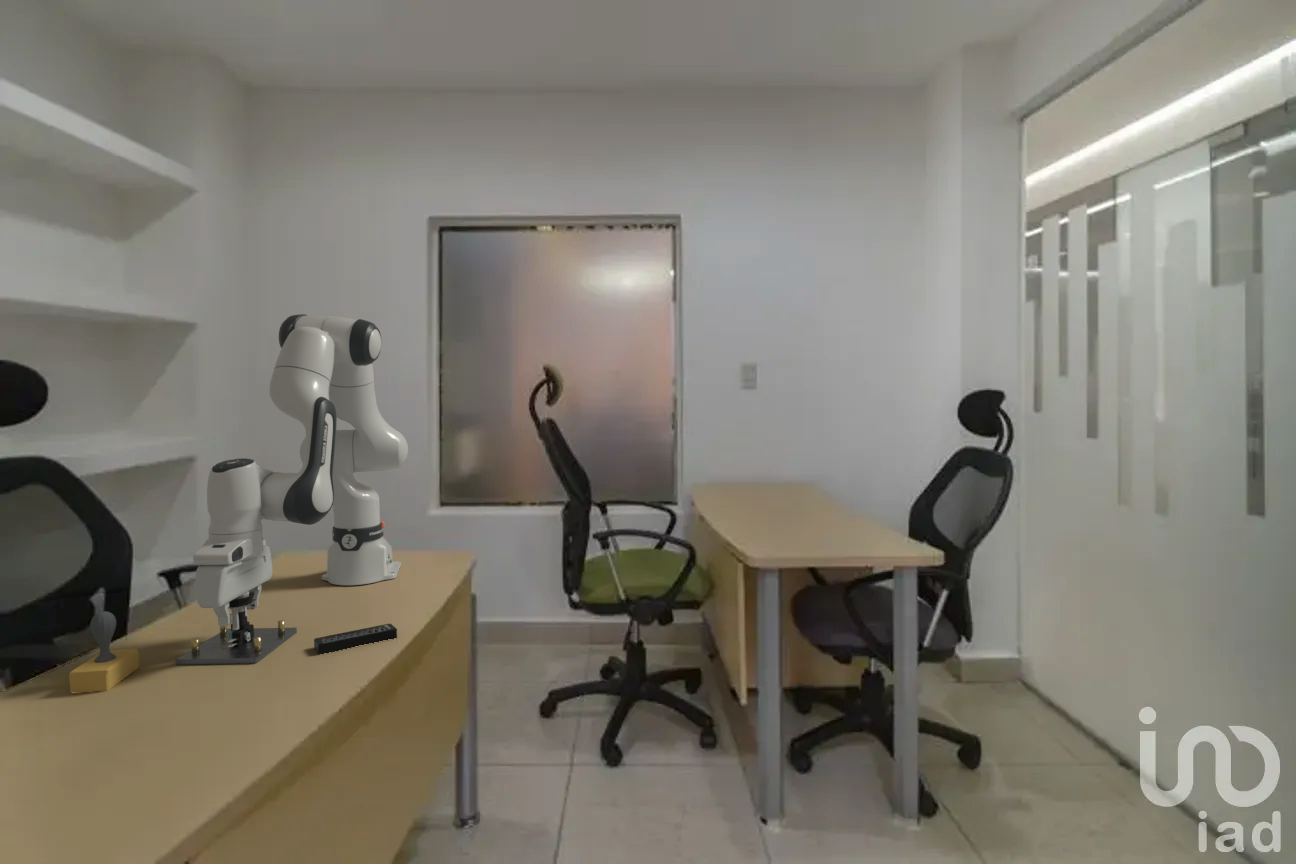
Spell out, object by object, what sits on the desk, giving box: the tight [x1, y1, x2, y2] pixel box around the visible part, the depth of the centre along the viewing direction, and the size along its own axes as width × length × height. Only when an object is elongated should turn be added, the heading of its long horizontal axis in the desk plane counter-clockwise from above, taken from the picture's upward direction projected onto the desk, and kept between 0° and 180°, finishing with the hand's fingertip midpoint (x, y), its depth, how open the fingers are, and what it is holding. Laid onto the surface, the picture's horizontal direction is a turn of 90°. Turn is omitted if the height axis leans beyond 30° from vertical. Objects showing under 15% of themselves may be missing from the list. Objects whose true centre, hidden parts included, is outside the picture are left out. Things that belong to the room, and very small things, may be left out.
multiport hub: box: [313, 623, 398, 655], centre depth 136 cm, size 4×14×2 cm, turn 127°
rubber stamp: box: [68, 610, 140, 694], centre depth 118 cm, size 10×6×12 cm, turn 11°
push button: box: [228, 591, 255, 647], centre depth 133 cm, size 7×5×10 cm
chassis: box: [175, 619, 298, 666], centre depth 133 cm, size 16×14×4 cm
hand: (239, 616), depth 133 cm, fingers open, 8 cm apart
